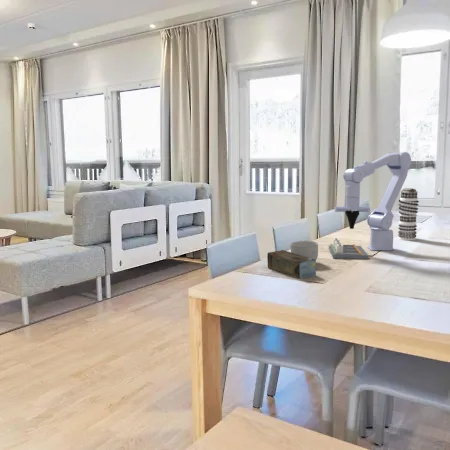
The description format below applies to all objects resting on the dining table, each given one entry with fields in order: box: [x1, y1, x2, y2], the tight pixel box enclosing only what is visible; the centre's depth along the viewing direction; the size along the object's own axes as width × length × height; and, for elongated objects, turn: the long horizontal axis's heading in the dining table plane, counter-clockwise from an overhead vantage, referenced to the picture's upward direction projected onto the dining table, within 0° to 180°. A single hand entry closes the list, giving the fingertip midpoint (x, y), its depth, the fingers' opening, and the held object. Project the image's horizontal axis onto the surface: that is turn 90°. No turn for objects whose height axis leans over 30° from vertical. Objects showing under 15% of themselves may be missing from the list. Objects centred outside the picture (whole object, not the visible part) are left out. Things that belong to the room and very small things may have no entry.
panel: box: [327, 243, 369, 260], centre depth 197 cm, size 14×20×2 cm
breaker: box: [332, 237, 341, 247], centre depth 204 cm, size 2×4×3 cm, turn 173°
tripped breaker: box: [336, 243, 344, 253], centre depth 191 cm, size 2×4×3 cm, turn 173°
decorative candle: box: [397, 187, 420, 241], centre depth 228 cm, size 9×9×25 cm
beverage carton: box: [267, 249, 317, 279], centre depth 168 cm, size 8×19×7 cm, turn 31°
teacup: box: [289, 240, 319, 261], centre depth 182 cm, size 14×11×8 cm
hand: (351, 228), depth 198 cm, fingers closed
